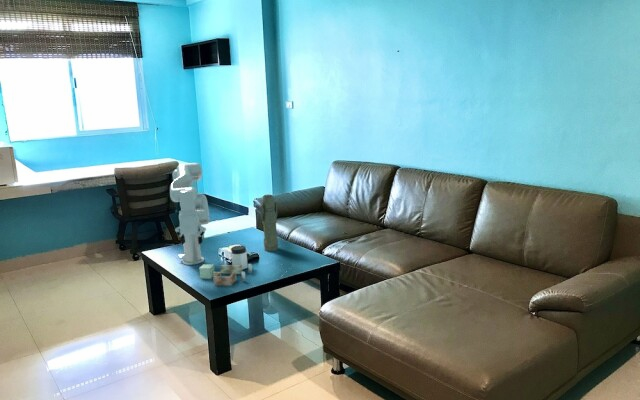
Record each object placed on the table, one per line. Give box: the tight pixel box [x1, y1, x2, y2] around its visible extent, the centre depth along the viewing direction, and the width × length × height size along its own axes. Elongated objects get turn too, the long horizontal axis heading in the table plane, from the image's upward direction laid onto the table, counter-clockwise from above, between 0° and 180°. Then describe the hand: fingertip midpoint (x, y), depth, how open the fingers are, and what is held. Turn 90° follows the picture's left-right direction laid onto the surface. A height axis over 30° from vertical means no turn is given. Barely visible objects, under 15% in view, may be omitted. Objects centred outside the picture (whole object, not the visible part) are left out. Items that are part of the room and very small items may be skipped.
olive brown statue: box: [259, 194, 279, 253], centre depth 309 cm, size 9×12×35 cm
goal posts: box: [240, 263, 253, 283], centre depth 267 cm, size 2×14×5 cm, turn 171°
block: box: [198, 263, 216, 279], centre depth 270 cm, size 6×6×6 cm
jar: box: [230, 245, 248, 271], centre depth 281 cm, size 9×8×12 cm
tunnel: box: [212, 264, 243, 286], centre depth 266 cm, size 12×18×4 cm, turn 171°
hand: (191, 243), depth 269 cm, fingers open, 9 cm apart
